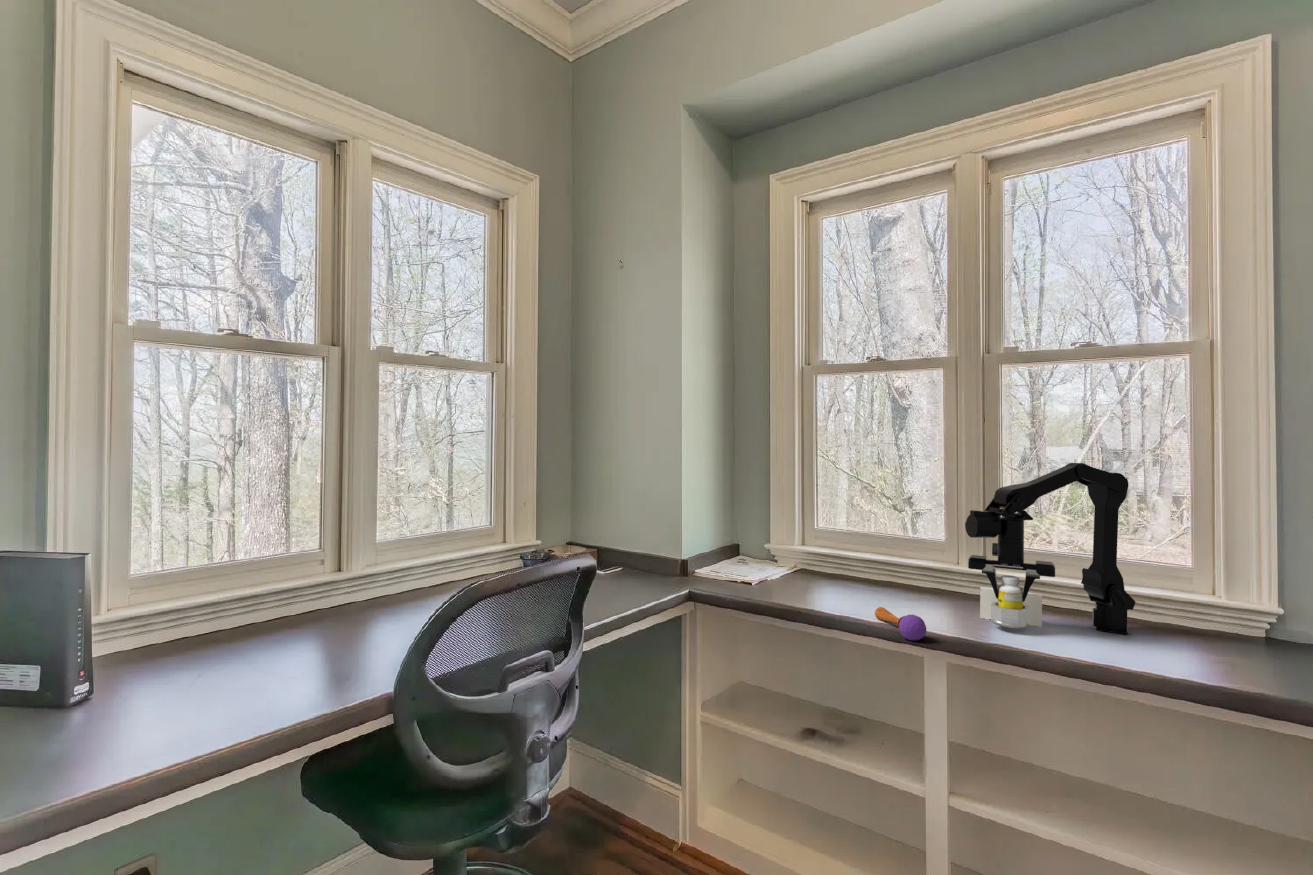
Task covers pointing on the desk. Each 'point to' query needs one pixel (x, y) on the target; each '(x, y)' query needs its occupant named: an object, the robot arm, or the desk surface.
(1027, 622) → the cup bracket
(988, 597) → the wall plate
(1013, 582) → the supplement bottle
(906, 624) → the purple maraca
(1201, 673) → the desk surface
